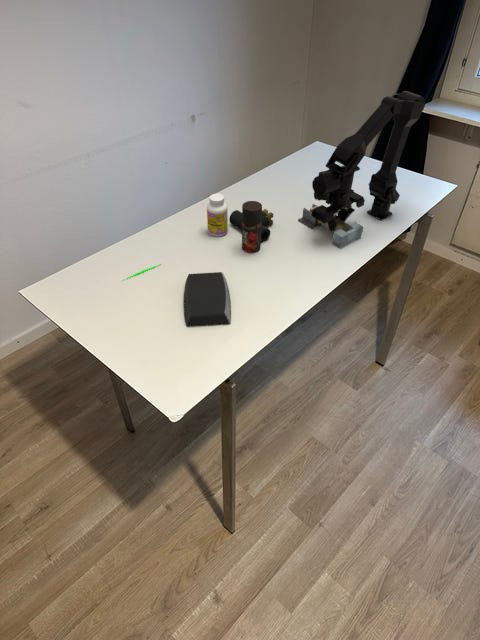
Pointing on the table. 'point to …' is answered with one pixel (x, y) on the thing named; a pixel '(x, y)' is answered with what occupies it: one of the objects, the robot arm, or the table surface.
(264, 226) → the pipe connector
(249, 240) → the deodorant
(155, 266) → the pen
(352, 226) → the slate-blue socket
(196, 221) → the table surface
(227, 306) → the external hard drive
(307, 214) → the grey sleeve
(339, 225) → the tan square rod
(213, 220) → the supplement bottle
